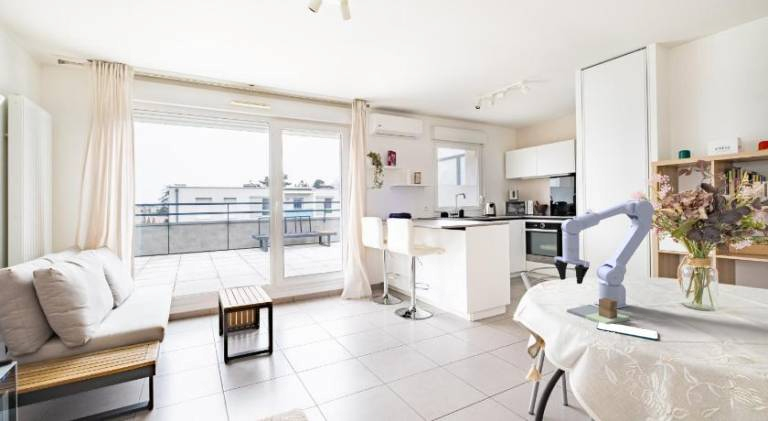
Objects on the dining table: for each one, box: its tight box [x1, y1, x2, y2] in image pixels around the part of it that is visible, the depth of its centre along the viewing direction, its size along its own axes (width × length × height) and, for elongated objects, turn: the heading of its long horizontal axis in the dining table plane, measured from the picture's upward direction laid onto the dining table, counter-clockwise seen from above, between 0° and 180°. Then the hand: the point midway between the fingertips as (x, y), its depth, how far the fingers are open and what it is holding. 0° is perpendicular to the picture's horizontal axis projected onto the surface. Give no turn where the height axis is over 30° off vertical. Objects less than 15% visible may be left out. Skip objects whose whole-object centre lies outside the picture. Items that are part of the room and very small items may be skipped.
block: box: [598, 298, 618, 319], centre depth 122 cm, size 4×4×6 cm
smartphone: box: [596, 322, 659, 341], centre depth 111 cm, size 8×1×16 cm
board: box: [566, 304, 630, 324], centre depth 125 cm, size 13×15×1 cm
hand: (571, 281), depth 139 cm, fingers open, 7 cm apart
